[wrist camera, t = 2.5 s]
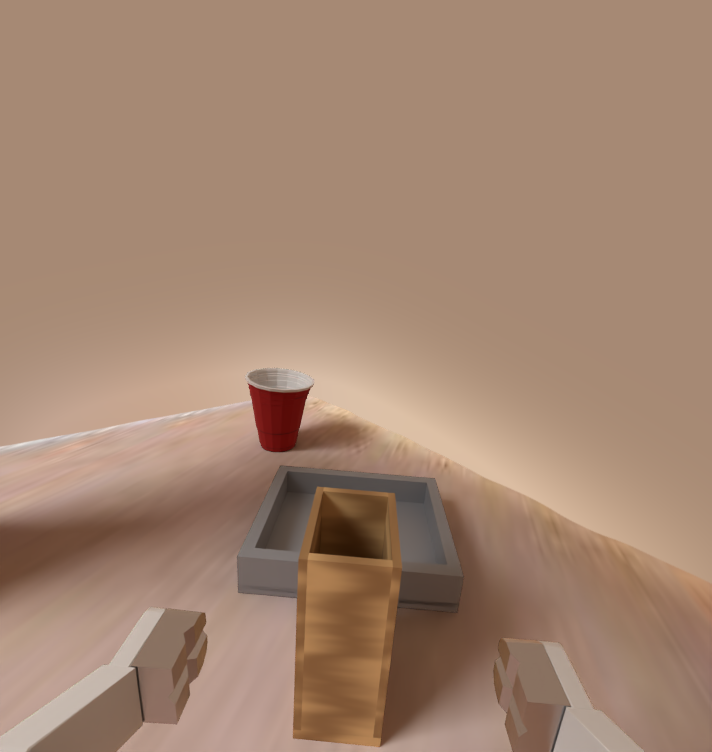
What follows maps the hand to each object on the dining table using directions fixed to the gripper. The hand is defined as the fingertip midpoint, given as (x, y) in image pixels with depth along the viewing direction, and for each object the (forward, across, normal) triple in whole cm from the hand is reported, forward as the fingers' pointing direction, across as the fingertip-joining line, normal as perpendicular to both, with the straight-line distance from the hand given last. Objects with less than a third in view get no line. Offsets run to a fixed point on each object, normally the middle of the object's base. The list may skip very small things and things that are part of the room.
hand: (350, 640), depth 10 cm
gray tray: (+27, 0, +19) cm, 33 cm away
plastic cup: (+49, +14, +19) cm, 54 cm away
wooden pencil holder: (+12, 0, +19) cm, 23 cm away
